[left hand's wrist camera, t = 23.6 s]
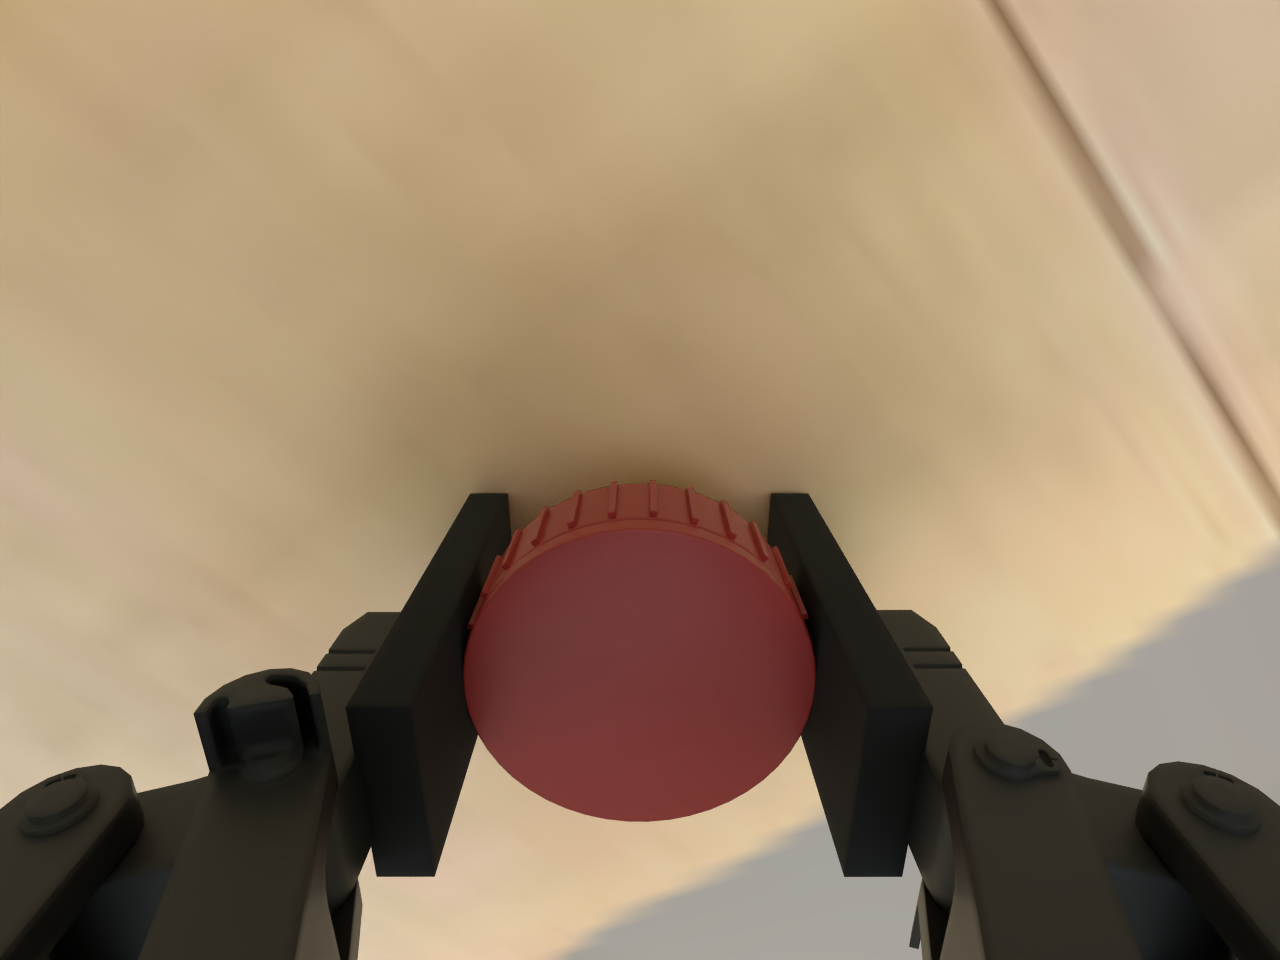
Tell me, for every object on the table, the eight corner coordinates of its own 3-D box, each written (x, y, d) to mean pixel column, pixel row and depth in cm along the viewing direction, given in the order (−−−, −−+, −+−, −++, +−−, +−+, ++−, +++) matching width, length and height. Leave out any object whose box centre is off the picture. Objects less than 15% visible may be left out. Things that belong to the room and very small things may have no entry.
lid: (416, 610, 12) (380, 673, 11) (658, 410, 11) (661, 446, 9) (624, 795, 14) (622, 875, 12) (859, 638, 12) (892, 705, 11)
